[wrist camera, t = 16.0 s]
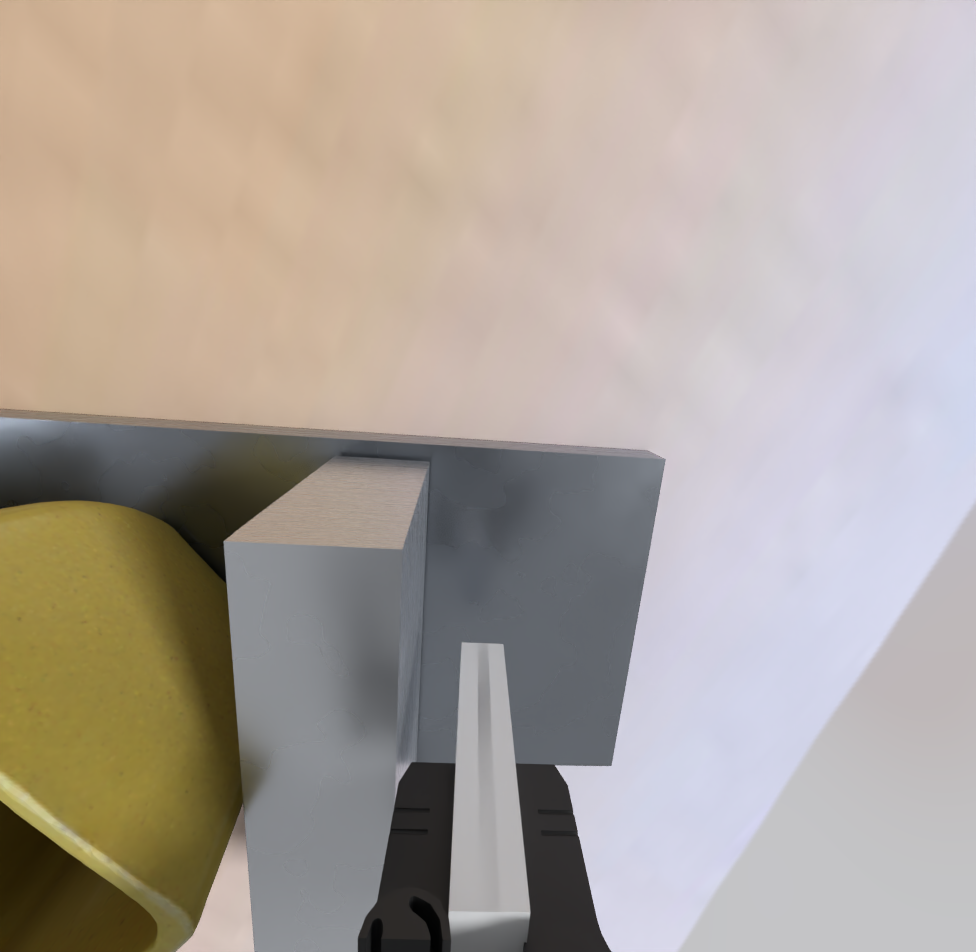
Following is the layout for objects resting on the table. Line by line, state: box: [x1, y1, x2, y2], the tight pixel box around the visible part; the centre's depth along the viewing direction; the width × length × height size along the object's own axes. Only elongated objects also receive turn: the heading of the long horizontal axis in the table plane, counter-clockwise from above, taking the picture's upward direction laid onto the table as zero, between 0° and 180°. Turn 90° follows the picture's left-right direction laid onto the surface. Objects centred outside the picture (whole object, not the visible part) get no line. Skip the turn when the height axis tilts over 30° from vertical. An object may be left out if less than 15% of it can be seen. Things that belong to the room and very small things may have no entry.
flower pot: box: [0, 501, 243, 952], centre depth 11 cm, size 9×9×9 cm
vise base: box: [0, 409, 666, 766], centre depth 13 cm, size 13×26×8 cm, turn 86°
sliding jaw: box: [224, 456, 430, 952], centre depth 13 cm, size 18×4×7 cm, turn 176°
